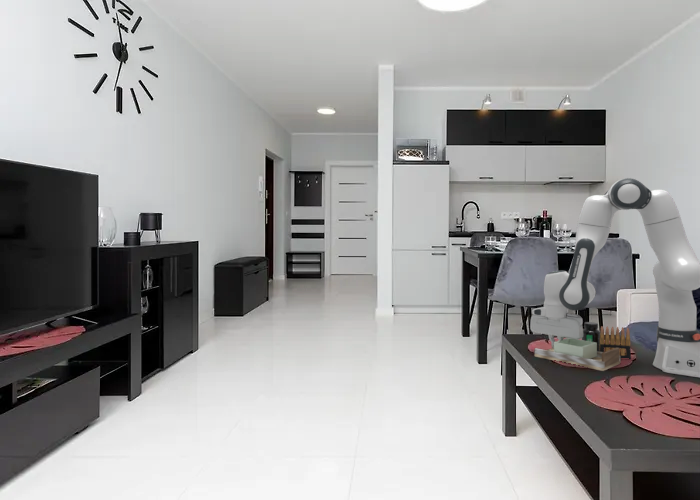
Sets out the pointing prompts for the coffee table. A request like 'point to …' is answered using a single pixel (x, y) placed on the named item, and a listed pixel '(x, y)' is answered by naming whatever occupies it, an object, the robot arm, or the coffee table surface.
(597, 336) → the supplement bottle
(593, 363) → the striped flat box
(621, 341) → the ammunition clip
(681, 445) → the coffee table surface
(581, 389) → the coffee table surface
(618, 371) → the coffee table surface
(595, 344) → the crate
